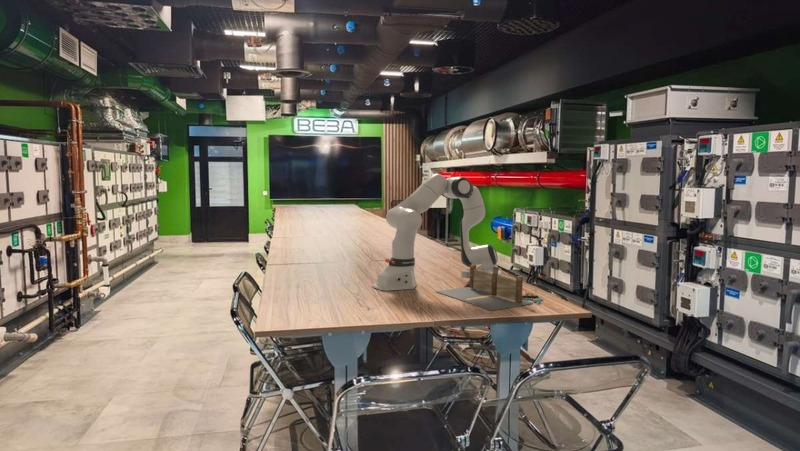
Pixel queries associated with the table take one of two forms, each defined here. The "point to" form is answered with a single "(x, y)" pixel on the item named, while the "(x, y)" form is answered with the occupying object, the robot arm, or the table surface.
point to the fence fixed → (507, 286)
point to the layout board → (482, 298)
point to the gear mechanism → (534, 297)
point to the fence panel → (480, 279)
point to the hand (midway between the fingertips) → (478, 277)
